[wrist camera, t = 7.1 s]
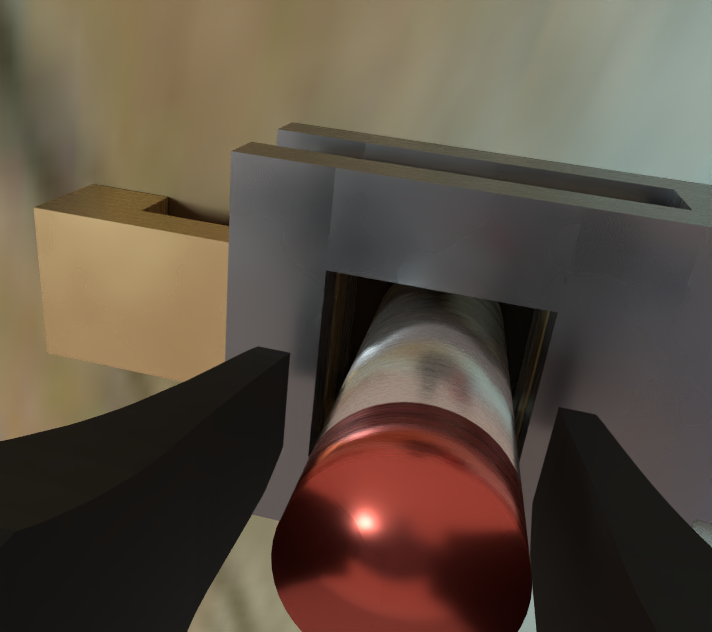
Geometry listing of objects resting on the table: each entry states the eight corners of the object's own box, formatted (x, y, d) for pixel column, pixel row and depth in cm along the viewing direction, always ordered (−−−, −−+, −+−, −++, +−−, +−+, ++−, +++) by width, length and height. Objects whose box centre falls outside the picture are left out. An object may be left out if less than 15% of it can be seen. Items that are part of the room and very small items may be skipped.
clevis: (874, 210, 13) (986, 270, 10) (735, 523, 17) (786, 642, 14) (87, 92, 16) (-22, 111, 13) (103, 384, 19) (21, 458, 16)
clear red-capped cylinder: (526, 349, 16) (581, 629, 8) (418, 404, 17) (359, 710, 9) (461, 241, 16) (443, 415, 7) (353, 304, 16) (222, 526, 8)
